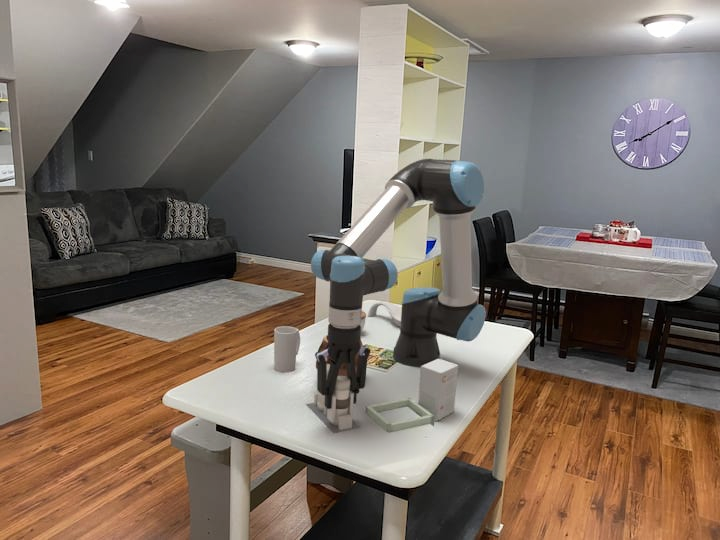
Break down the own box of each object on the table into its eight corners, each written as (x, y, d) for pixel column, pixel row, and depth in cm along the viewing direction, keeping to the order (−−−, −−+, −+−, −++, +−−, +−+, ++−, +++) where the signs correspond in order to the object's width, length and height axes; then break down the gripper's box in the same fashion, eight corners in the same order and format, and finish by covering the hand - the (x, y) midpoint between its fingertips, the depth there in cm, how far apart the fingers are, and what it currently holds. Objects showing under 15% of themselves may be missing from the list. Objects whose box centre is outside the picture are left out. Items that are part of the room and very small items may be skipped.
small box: (434, 403, 151) (438, 357, 148) (454, 412, 147) (459, 364, 144) (416, 413, 145) (420, 365, 142) (437, 422, 141) (441, 372, 138)
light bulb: (343, 417, 137) (345, 374, 135) (350, 424, 134) (353, 381, 131) (328, 420, 135) (330, 377, 133) (335, 427, 132) (337, 383, 129)
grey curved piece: (428, 327, 217) (429, 309, 215) (410, 334, 208) (412, 315, 206) (379, 313, 231) (380, 296, 230) (361, 319, 222) (362, 301, 221)
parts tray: (408, 408, 147) (409, 397, 147) (433, 427, 138) (434, 416, 137) (365, 417, 141) (365, 406, 140) (388, 437, 132) (389, 426, 131)
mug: (285, 374, 164) (287, 335, 162) (268, 368, 168) (269, 330, 165) (307, 364, 173) (309, 327, 170) (290, 359, 176) (291, 322, 174)
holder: (330, 404, 147) (332, 359, 144) (360, 433, 133) (363, 383, 130) (305, 409, 143) (307, 363, 141) (333, 439, 130) (335, 388, 127)
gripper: (317, 333, 122) (313, 432, 127) (385, 325, 130) (378, 418, 135) (303, 322, 128) (300, 417, 133) (368, 315, 136) (363, 405, 141)
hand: (339, 418), depth 134 cm, fingers closed on light bulb, 4 cm apart
